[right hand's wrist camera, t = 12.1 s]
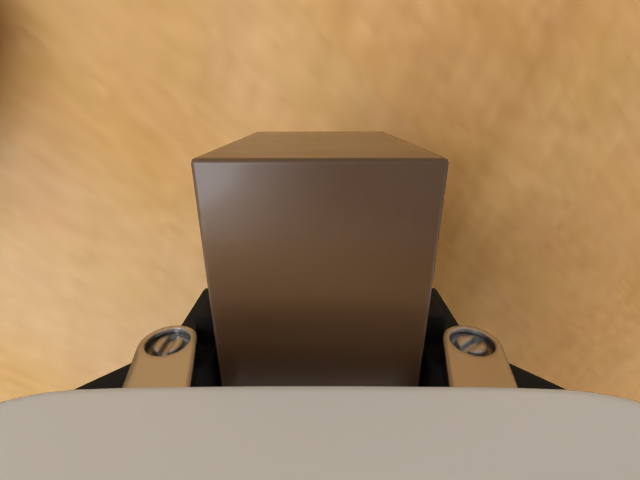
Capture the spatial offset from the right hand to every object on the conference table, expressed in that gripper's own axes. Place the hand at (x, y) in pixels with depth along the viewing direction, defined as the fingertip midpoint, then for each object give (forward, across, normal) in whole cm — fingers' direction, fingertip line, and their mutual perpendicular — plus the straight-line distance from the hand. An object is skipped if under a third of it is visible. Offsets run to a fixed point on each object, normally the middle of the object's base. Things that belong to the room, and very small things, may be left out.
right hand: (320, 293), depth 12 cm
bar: (+2, 0, +32) cm, 32 cm away
